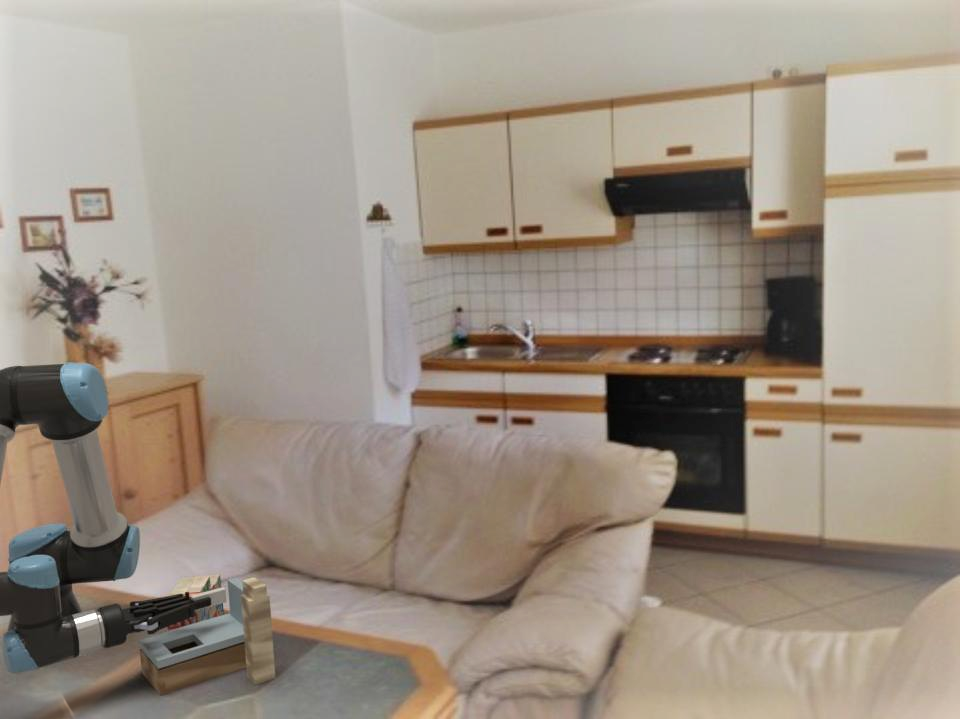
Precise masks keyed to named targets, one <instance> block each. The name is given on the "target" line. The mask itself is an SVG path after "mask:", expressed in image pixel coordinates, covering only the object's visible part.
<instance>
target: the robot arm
mask: <svg viewBox="0 0 960 719" xmlns="http://www.w3.org/2000/svg"><path fill="white" fill-rule="evenodd" d="M108 395H109V394H108V390H107V386H106V382H105V380H104V377H103V376H102V373H101V372H100V370H99V369H98V368H97V367H96V366H95V365H92V364H90V363H87V362H80V363H79V362H78V363H76V362H70V361H69V362H64V363H54V364H35V365H34V364H33V365H13V366H9V367H4V368H1V369H0V486H1V484H2V479H3V478H2V477H3V472H4V465H5V460H6V459H5V458H6V454H7V452H6V451H7V447H8V443H9V442H11V441H13V439H14V438H15V434H16V428H17V427H19V426H21V425H22V426H26V425H38V428H39V431H40V435H41V436H42V437H43V438H44V439H46V440H47V441H48V440H49V441H51V443H52V447H53V451H54V455H55V458H56V461H57V465H58V469H59V472H60V473H59V474H60V475H61V480H62V483H63V487H64V489H65V493H66V494H65V495H66V498H67V501H68V505H69V507H70V511H71V515H72V519H73V522H74V524H73V526H72V527H71V529H70V530H68V527H67V525H66V524H65V523H60V522H57V523H56V522H55V523H49V524H43V525H39V526H36V527H34V528H29V529H27V530H25V531H23V532H21V533H18V534H17V535H15V536H13V537H12V538H11V540H10V541H9V543H8V563H9V565H8V568H7V569H8V570H7V571H0V617H4V616H10V618H9V622H8V623H9V624H8V627H7V631H5V632H4V633H3V635H2V638H1V639H2V651H3V658H4V659H3V660H4V663H5V666H6V668H7V671H8V672H9V673H10V674H21V673H24V672H25V673H26V672H29V671H34V670H40V669H41V668H44V667H48V666H51V665H54V664H57V663H61V662H64V661H67V660H70V659H71V660H72V659H74V658H78V657H81V656H82V658H83V657H84V658H86V657H87V656H88V655H89V654H91V653H95V652H98V651H101V649H102V648H104V649H111V648H113V647H117V646H121V645H124V644H125V643H126V640H127V636H128V635H129V634H135V633H141V632H144V631H147V635H155V633H157V632H159V631H160V630H162V629H165V628H168V626H171V625H173V624H176V623H178V622H181V621H183V620H186V619H189V618H191V617H194V616H195V611H197V610H201V609H204V608H208V607H211V606H215V605H218V604H222V603H223V604H225V603H227V593H226V588H225V587H224V586H221V587H222V588H218V589H214V590H210V591H207V592H203V593H199V594H196V595H192V596H191V597H189V592H185V596H183V594H177V595H172V596H169V595H167V596H163V597H162V596H161V597H156V598H151V599H145V600H137V601H136V600H135V601H134V600H133V601H130V602H129V607H127V608H124V609H123V608H122V606H121V605H120V604H119V603H113V604H108V605H104V606H102V607H101V606H99V607H98V608H97V610H95V609H93V608H92V609H89V610H88V609H87V610H83V609H82V608H81V606H80V603H79V602H78V600H77V597H76V596H75V594H74V591H73V590H74V589H73V585H75V584H86V583H87V584H88V583H98V582H101V583H102V582H111V581H112V582H115V581H119V580H125V579H129V578H131V577H132V576H134V574H135V573H136V571H137V566H138V562H139V556H140V547H141V546H140V545H141V534H140V528H139V527H138V525H133V524H130V525H128V521H127V518H126V516H125V515H124V514H123V513H121V512H118V511H117V507H116V502H115V497H114V496H113V490H112V485H111V483H110V478H109V474H108V470H107V466H106V460H105V457H104V454H103V449H102V445H101V441H100V437H99V433H98V429H99V428H100V427H101V425H102V424H103V420H104V419H105V418H106V416H107V415H108V410H109V399H108Z"/></svg>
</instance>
